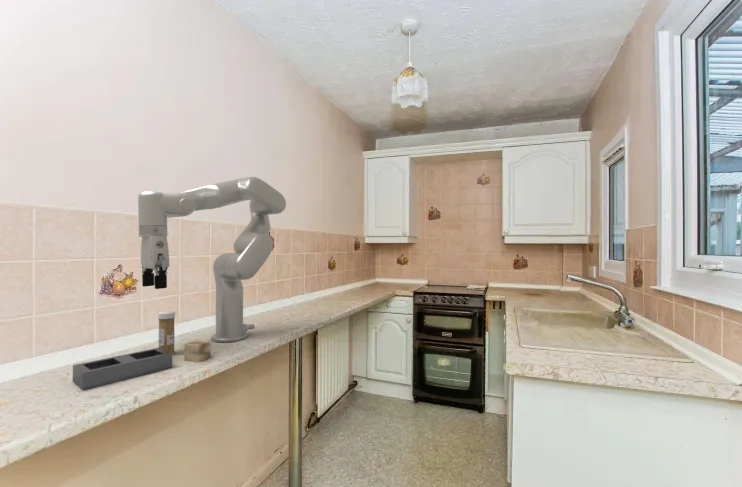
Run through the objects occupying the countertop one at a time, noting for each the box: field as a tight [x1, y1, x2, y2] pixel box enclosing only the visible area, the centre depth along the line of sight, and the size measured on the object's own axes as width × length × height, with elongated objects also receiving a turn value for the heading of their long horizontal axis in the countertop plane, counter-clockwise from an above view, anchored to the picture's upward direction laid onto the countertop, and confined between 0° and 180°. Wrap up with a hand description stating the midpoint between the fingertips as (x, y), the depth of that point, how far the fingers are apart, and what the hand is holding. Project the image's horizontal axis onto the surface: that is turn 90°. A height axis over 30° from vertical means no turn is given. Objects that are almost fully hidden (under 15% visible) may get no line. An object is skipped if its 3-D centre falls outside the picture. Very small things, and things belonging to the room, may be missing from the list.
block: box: [183, 339, 211, 363], centre depth 106 cm, size 5×5×5 cm
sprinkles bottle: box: [157, 310, 176, 355], centre depth 110 cm, size 5×5×14 cm
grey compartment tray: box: [72, 347, 173, 391], centre depth 93 cm, size 20×9×4 cm, turn 142°
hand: (154, 287), depth 108 cm, fingers open, 9 cm apart
